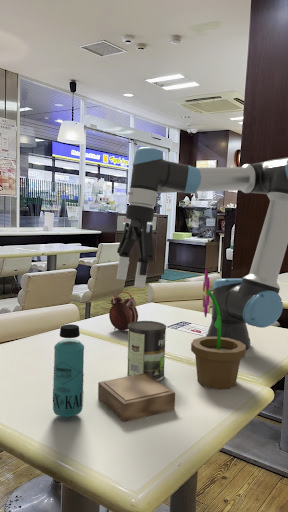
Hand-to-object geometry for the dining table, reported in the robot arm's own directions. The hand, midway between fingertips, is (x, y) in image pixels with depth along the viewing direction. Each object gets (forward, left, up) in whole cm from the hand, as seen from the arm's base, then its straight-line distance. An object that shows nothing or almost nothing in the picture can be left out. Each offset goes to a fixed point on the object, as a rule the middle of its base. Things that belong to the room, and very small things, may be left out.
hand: (129, 283), depth 116 cm
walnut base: (+8, +19, -25) cm, 32 cm away
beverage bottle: (+24, +18, -25) cm, 39 cm away
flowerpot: (-18, +17, -25) cm, 35 cm away
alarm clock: (-18, -37, -25) cm, 48 cm away
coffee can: (-3, +5, -25) cm, 26 cm away
